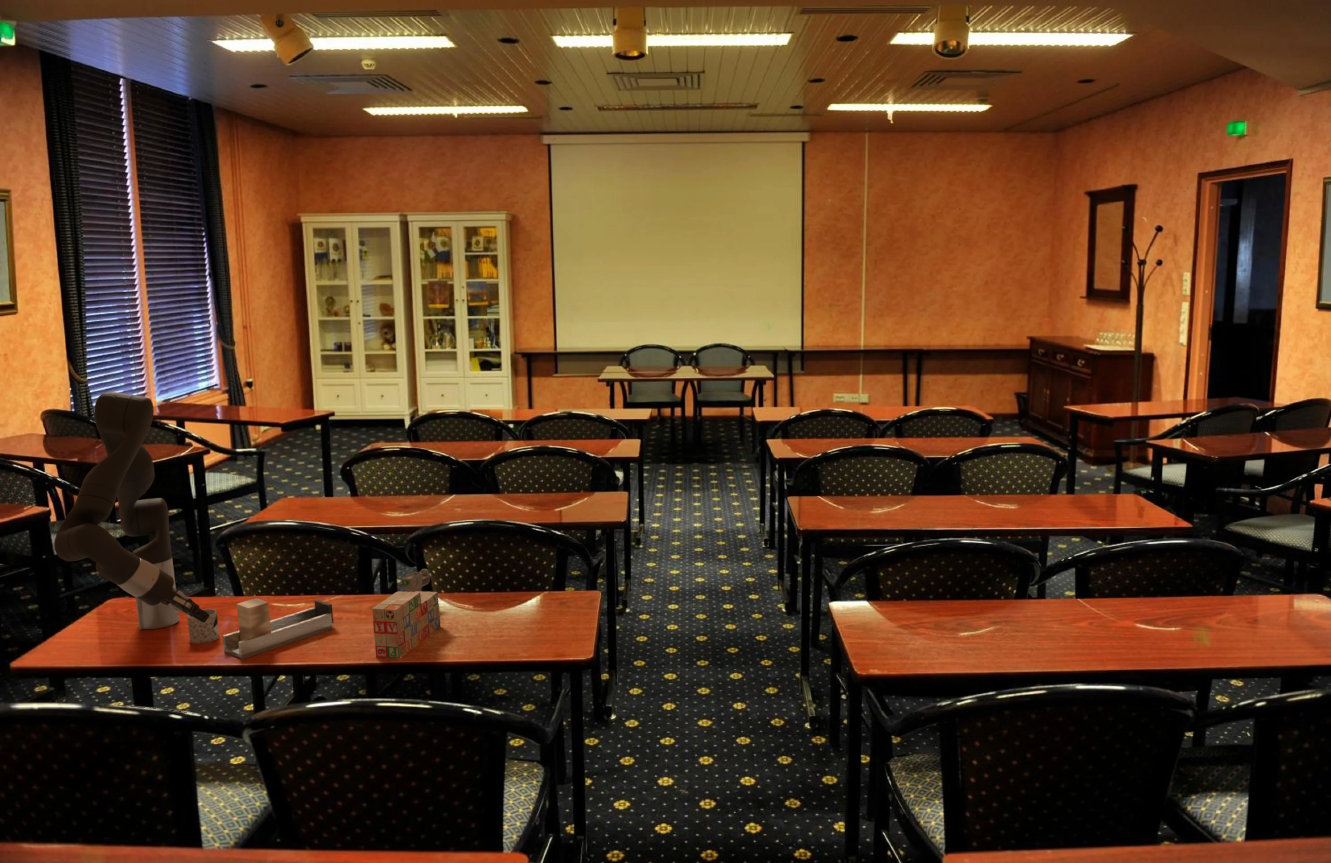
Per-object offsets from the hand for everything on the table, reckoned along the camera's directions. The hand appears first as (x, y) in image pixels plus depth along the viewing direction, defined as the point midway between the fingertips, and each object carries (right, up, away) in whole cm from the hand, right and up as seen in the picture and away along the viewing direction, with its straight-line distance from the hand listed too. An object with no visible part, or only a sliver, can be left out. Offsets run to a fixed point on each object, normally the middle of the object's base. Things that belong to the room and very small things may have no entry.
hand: (205, 618), depth 225 cm
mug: (-10, -9, +19) cm, 23 cm away
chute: (+11, -8, +15) cm, 21 cm away
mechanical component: (+41, -5, +34) cm, 53 cm away
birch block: (+7, -8, +10) cm, 15 cm away
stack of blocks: (+44, -8, +12) cm, 47 cm away
